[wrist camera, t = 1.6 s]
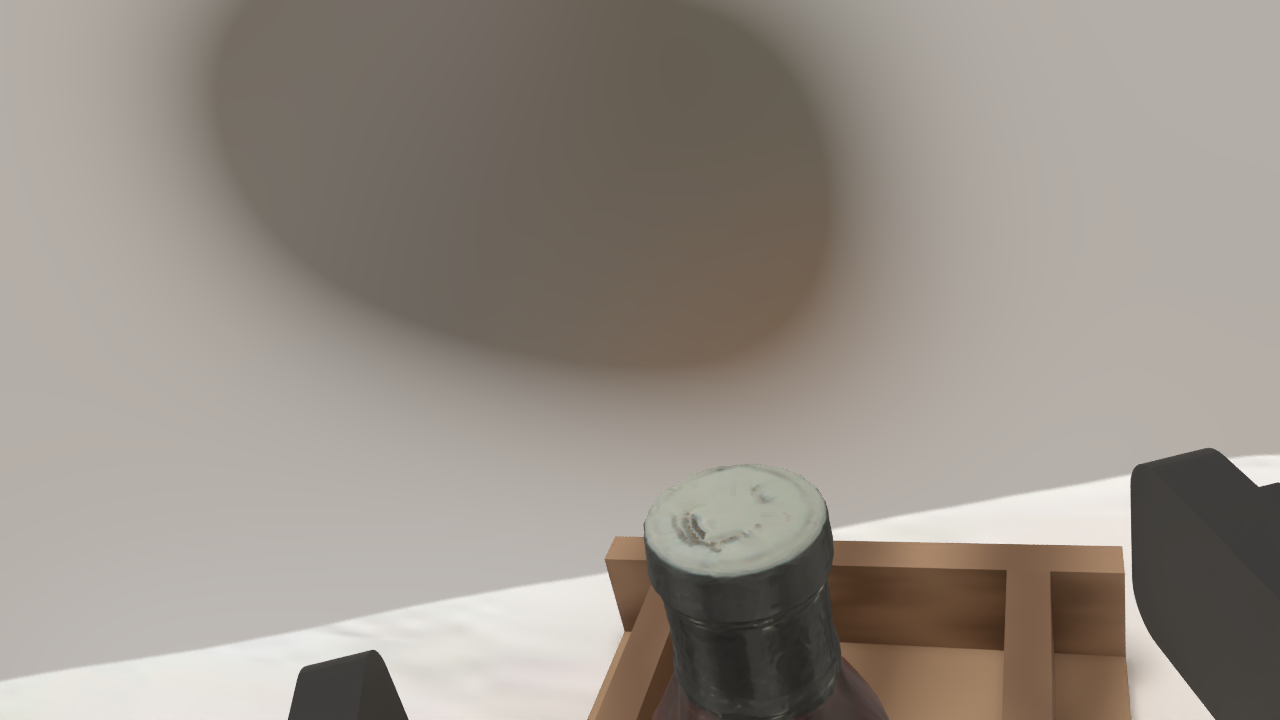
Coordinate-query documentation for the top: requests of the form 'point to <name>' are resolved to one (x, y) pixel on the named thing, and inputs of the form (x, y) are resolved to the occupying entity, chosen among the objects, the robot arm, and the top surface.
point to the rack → (929, 630)
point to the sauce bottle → (750, 600)
